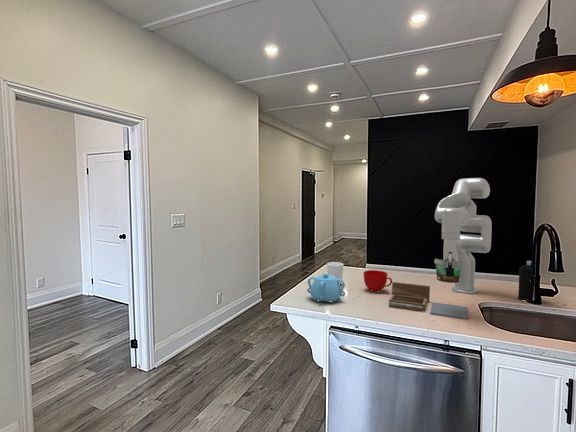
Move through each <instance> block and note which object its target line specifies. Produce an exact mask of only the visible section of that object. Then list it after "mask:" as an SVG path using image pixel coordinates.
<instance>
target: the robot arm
mask: <svg viewBox="0 0 576 432" xmlns="http://www.w3.org/2000/svg"><path fill="white" fill-rule="evenodd" d="M490 192H491V188H490V184H489V183H488V181H487V180H486V179H485V178H482V177H469V178H460V179H458V180H456V182H455V183H454V186H453V190H452V192H451V194H450V195H447V196H446V197H443V198H442V199H441V200H439V202H438V204H437V205H436V208H435V210H434V211H435V212H434V220H435V221H436V222H437V223H439V224H441V239H442V240H443V253H442V254H443V257H442V258H443V259H442V260H443V261H445V260H447V267H446V276H448V277H454V268H453V263H454V262H455V261H461V260H462V261H463V265H462V266H461V272H460V279H459V282H458V283H454V285H452V286H451V289H452V290H453V291H454V292H457V293H461V294H476V293H478V291H479V290H478V288H476V287H475V283H476V282H475V279H476V278H475V276H476V259H475V257H474V256H473V255H472V253H480V254H482V253H483V254H487V253H489V252H490V251H491V247H492V231H493V230H492V226H493V225H492V224H493V223H492V222H493V221H492V219H491V218H490V216H489V215H485V214H482V215H480V214H477V205H476V203H475V202H474V201H473V200H472V199H487V198H488V197H489V196H490ZM461 232H464V233H465V234H464V233H461ZM467 233H468V234H467ZM469 233H479V234H469ZM448 260H449V261H448Z"/></svg>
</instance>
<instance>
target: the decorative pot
mask: <svg viewBox="0 0 576 432" xmlns="http://www.w3.org/2000/svg"><path fill="white" fill-rule="evenodd" d="M311 280H313V282H311ZM339 281H340V282H342V284H341V285H340V284H339ZM311 283H312V284H311ZM307 284H308V288H307V290H306V291H307V293H309V295H310V297H311V298H312V300H314V301H316V300H319V302H328V301H333V302H336V301H338V300H339V299H340V297H345V296H346V292H345V291H344V287H345V282H344V280H343V279H342V280H341V279H337V278H336V277H335V276H330V275H329V274H328V272H326V273H325V272H324V273H322V274H319V275H316V277H314V276H312V277H309V278H308V280H307Z"/></svg>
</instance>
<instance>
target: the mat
mask: <svg viewBox="0 0 576 432" xmlns="http://www.w3.org/2000/svg"><path fill="white" fill-rule="evenodd" d="M468 312H469V311H468V306H465V305H457V304H450V303H444V302H443V303H442V302H435V301H433V302H432V303H431V307H430V312H429V314H430V315H433V316H440V317H447V318H453V319H459V320H467V321H468V320H469V313H468Z"/></svg>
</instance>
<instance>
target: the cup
mask: <svg viewBox="0 0 576 432" xmlns="http://www.w3.org/2000/svg"><path fill="white" fill-rule="evenodd" d="M326 268H327V273H328V274H329V275H330V276H335V277H336V278H337V279H341V280H343V273H344V263H343V262H338V261H335V262H334V261H332V262H327V263H326ZM341 283H342V282H340V281H339V284H341ZM341 285H342V284H341Z"/></svg>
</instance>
